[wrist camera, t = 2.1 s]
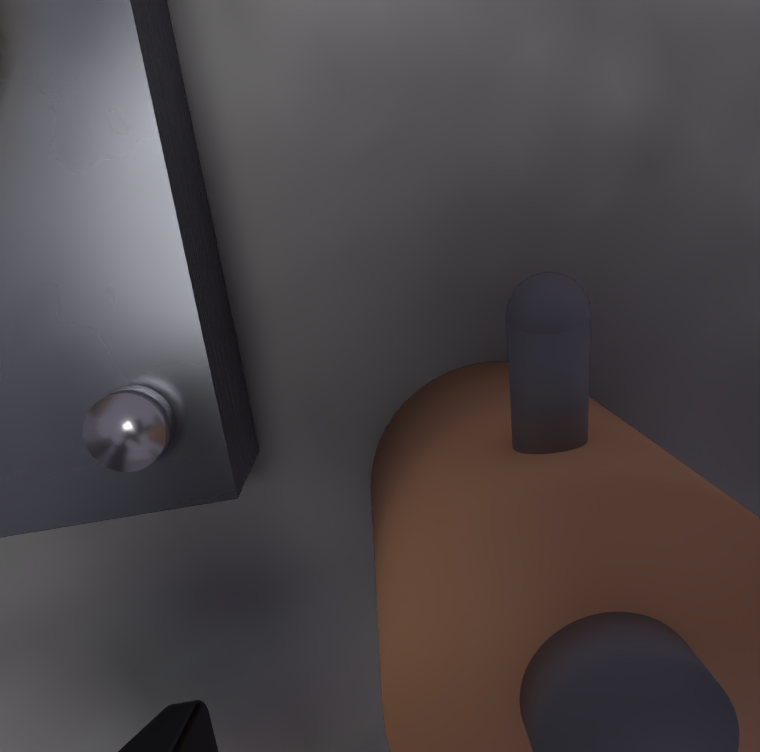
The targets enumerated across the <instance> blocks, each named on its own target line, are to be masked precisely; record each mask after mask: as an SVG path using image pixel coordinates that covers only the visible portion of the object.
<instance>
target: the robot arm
mask: <svg viewBox="0 0 760 752" xmlns="http://www.w3.org/2000/svg"><path fill="white" fill-rule="evenodd" d="M118 752H218V748H217V744H216V740H215V736H214V732H213V728H212V723H211V719H210V715H209V711H208V708H207V706H206V705H205V703H204V702H202V701H201V700H196V701H190V702H183V703H177V704H172V705H169V706H167V707H166V708H165V709H164V710H163V711H162V712H160V713H159V714H158V715H157V716H156V717H155V718H154V719H153V720H152V721H151V722H150V723H149V724H147V725H146V726H145V727H144V728H143V729H142V730H141V731H140V732H139V733H138V734H137V735H136V736H134V737H133V738H132V739H131V740H130V741H129V742H128V743H127V744H126V745H125V746H124V747H123V748H121V749H120V750H119V751H118Z"/></svg>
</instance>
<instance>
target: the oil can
mask: <svg viewBox="0 0 760 752" xmlns="http://www.w3.org/2000/svg"><path fill="white" fill-rule="evenodd" d="M506 324H507V345H508V362H486V363H478V364H474V365H469V366H465V367H461V368H459V369H456V370H453V371H451V372H448V373H446V374H444V375H442V376H440V377H438V378H436V379H434V380H432V381H431V382H429V383H428V384H426V385H425V386H423V387H422V388H421V389H419V390H418V391H417V392H416V393H414V394H413V395H412V396H411V397H410V398H409V399H408V400H407V401H406V402H405V403H404V404H403V405H402V406H401V407H400V409H399V410H398V411H397V412H396V413H395V415H394V416H393V418H392V419H391V421H390V422H389V424H388V425H387V427H386V429H385V431H384V433H383V435H382V437H381V439H380V441H379V444H378V447H377V450H376V453H375V456H374V461H373V467H372V472H371V502H372V521H373V540H374V559H375V578H376V597H377V615H378V634H379V653H380V672H381V691H382V707H383V717H384V726H385V733H386V737H387V741H388V745H389V748H390V752H760V518H759V517H758V516H756V515H755V514H754V513H752V512H751V511H749V510H748V509H747V508H745V507H744V506H742V505H741V504H740V503H738V502H737V501H735V500H734V499H733V498H731V497H730V496H728V495H727V494H725V493H724V492H723V491H721V490H720V489H718V488H717V487H716V486H714V485H713V484H711V483H710V482H709V481H707V480H706V479H704V478H703V477H702V476H700V475H699V474H697V473H696V472H695V471H693V470H692V469H690V468H689V467H688V466H686V465H685V464H683V463H682V462H681V461H679V460H678V459H676V458H675V457H674V456H672V455H671V454H669V453H668V452H667V451H665V450H664V449H662V448H661V447H660V446H658V445H657V444H655V443H654V442H653V441H651V440H650V439H648V438H647V437H646V436H644V435H643V434H641V433H640V432H639V431H637V430H636V429H634V428H633V427H632V426H630V425H629V424H627V423H626V422H625V421H623V420H622V419H620V418H619V417H618V416H616V415H615V414H613V413H612V412H611V411H609V410H608V409H606V408H605V407H604V406H602V405H601V404H599V403H598V402H597V401H595V400H594V399H592V398H591V397H590V396H589V366H590V324H591V311H590V303H589V300H588V297H587V295H586V293H585V292H584V290H583V288H582V287H581V286H580V285H579V284H578V283H577V282H576V281H575V280H573V279H571V278H569V277H568V276H566V275H563V274H559V273H553V272H545V273H539V274H536V275H533V276H531V277H529V278H527V279H526V280H524V281H523V282H521V283H520V284H519V285H518V286H517V287H516V288H515V290H514V291H513V293H512V295H511V297H510V298H509V301H508V304H507V311H506Z"/></svg>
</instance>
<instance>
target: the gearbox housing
mask: <svg viewBox="0 0 760 752" xmlns="http://www.w3.org/2000/svg"><path fill="white" fill-rule="evenodd" d="M258 452H259V447H258V442H257V437H256V432H255V428H254V423H253V418H252V413H251V408H250V403H249V399H248V394H247V389H246V384H245V379H244V374H243V369H242V365H241V360H240V355H239V350H238V345H237V340H236V336H235V331H234V326H233V321H232V316H231V311H230V307H229V302H228V297H227V292H226V287H225V282H224V277H223V273H222V268H221V263H220V258H219V253H218V248H217V244H216V239H215V234H214V229H213V224H212V219H211V215H210V210H209V205H208V200H207V195H206V190H205V185H204V181H203V176H202V171H201V166H200V161H199V156H198V152H197V147H196V142H195V137H194V132H193V127H192V123H191V118H190V113H189V108H188V103H187V98H186V93H185V89H184V84H183V79H182V74H181V69H180V64H179V60H178V55H177V50H176V45H175V40H174V35H173V31H172V26H171V21H170V16H169V11H168V6H167V1H166V0H0V537H6V536H12V535H18V534H24V533H30V532H37V531H43V530H49V529H55V528H61V527H67V526H73V525H79V524H85V523H91V522H97V521H104V520H110V519H116V518H122V517H128V516H134V515H140V514H146V513H152V512H158V511H165V510H171V509H177V508H183V507H189V506H195V505H201V504H207V503H213V502H219V501H225V500H232V499H238V497H239V495H240V492H241V490H242V488H243V486H244V483H245V481H246V479H247V477H248V475H249V472H250V470H251V468H252V466H253V463H254V461H255V459H256V457H257V454H258Z"/></svg>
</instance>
